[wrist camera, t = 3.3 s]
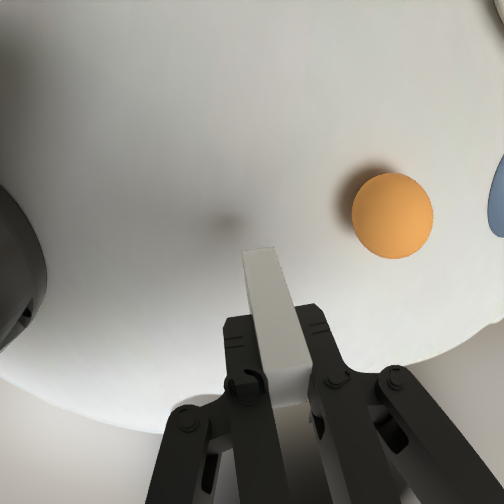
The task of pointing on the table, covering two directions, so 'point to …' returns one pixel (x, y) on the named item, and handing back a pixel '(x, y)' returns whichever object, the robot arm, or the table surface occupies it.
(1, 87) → the table surface
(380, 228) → the ball
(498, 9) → the lidded jar
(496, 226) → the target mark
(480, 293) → the table surface
